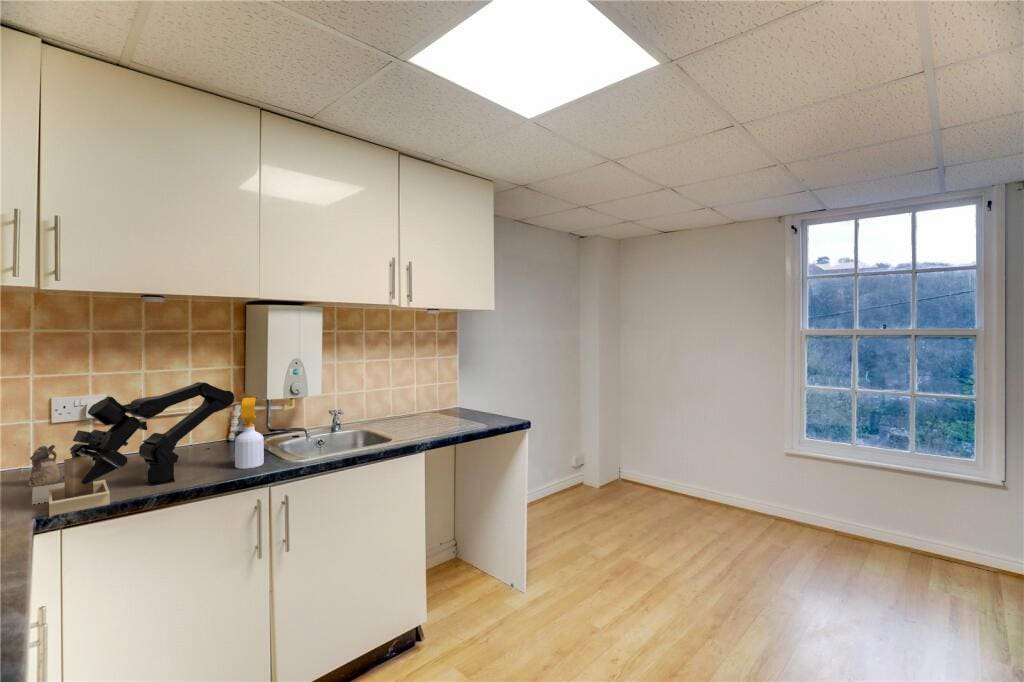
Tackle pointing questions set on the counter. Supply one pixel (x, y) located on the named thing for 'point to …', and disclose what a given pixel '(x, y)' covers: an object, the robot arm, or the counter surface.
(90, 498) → the light wooden tray
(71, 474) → the walnut box
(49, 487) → the tile
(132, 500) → the counter surface
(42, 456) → the figurine
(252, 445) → the soap bottle
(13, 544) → the counter surface
